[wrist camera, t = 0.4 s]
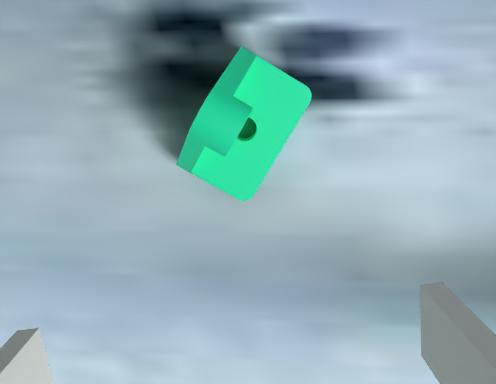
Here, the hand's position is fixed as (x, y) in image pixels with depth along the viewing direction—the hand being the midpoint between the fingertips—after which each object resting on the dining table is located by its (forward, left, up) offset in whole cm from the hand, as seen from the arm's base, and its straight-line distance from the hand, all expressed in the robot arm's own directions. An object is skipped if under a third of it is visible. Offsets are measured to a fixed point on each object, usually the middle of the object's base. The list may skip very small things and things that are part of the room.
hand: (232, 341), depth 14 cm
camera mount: (-5, +1, -28) cm, 28 cm away
